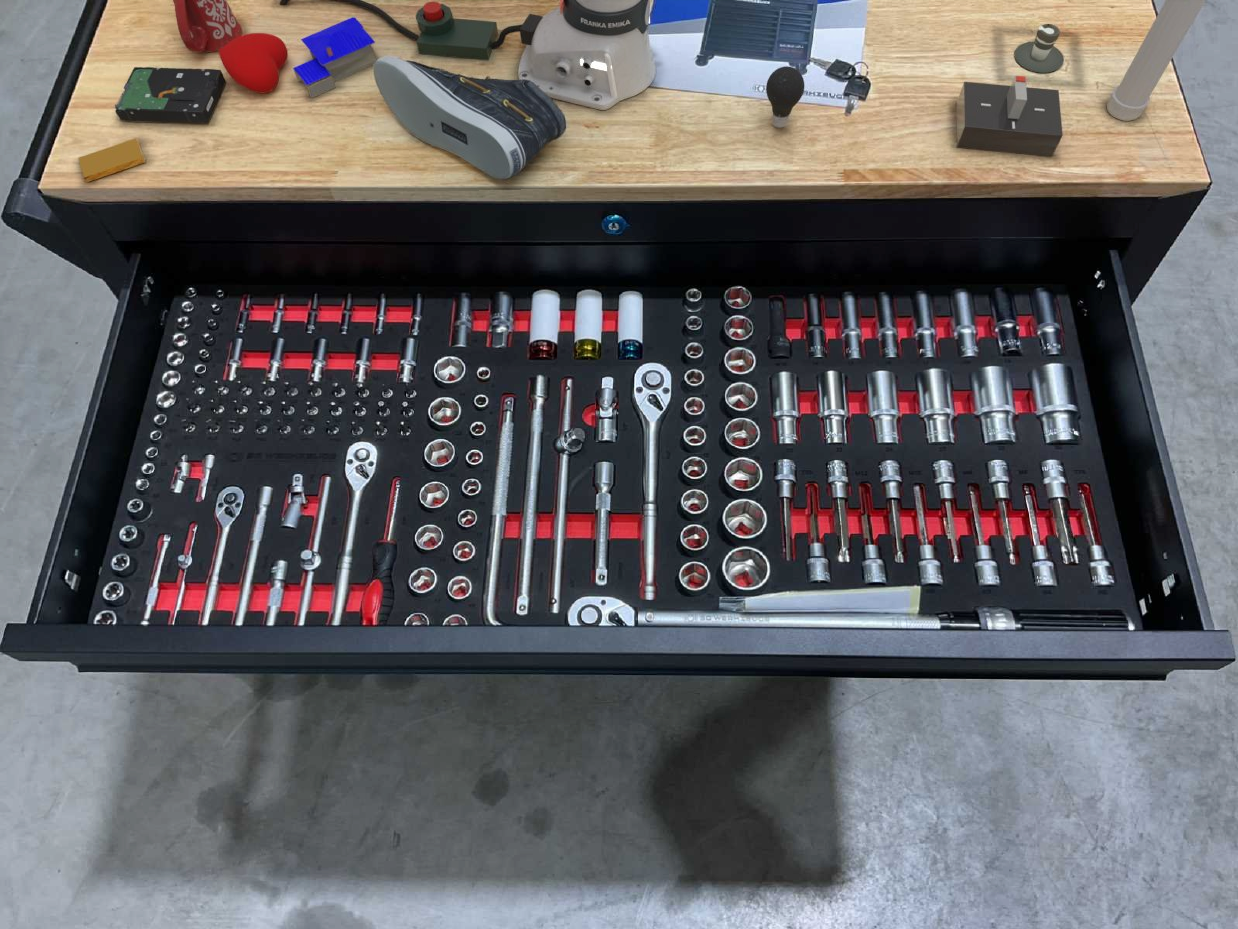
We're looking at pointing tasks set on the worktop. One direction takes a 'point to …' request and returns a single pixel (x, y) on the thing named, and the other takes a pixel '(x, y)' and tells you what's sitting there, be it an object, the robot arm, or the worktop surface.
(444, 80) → the boat shoe
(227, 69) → the heart
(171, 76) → the disk drive
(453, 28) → the button box
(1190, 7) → the pipe
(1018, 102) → the grey switch knob
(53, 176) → the worktop surface
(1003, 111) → the lever switch box
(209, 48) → the mug
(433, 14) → the button
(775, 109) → the light bulb
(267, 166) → the worktop surface
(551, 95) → the robot arm
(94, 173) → the golden brown flat block
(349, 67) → the house
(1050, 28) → the grey disc with post
